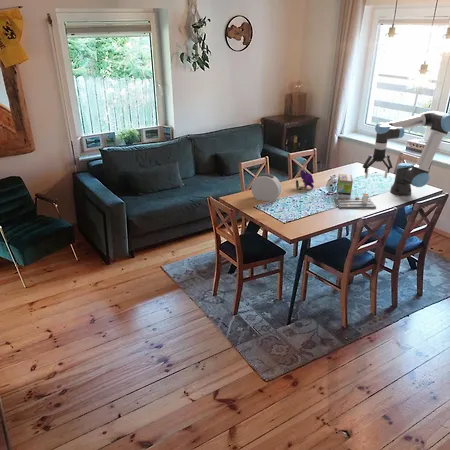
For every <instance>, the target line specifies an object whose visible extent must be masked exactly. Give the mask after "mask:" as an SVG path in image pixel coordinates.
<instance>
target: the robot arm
mask: <svg viewBox="0 0 450 450" xmlns="http://www.w3.org/2000/svg"><path fill="white" fill-rule="evenodd" d="M374 127H375V128H374V130H375V132H376V135H375V144H374V149H373V155H372V154H369V155H368V157H367V159H366V161H365V162H364V163H363V164H362V168H363V169H364V174H365V175H364V177H365V179H368V175H369V168H370V167H371V166H372V165H373V164H374V163H375V162H377V163H378V162H382V163H383V164H384V166H385V171H384V176H383V177H384V178H385V179H387V178H388V174H389V173H390V170H391V169H393V164H392V162H391V158H390V157H391V156H390V155H389V154H386V152H387V151H386V150H387V146H388V145H387V144H388V141H389V140H394V139H395V140H397V139H398V140H399V139H401V138H403V137H404V136H405V130H407V129H413V128H415V127H421V128H422V127H423V128H424V127H429V128H430V129H429V130H430V135H429V136H428V139H427V140H426V142H425V145H424V147H423V149H422V151H421V154H420V156H419V157H418V160H417V161H416V164H414V163H409V162H404V163H403V162H402V163H400V162H399V163H398V164H397V166H396V170H395V175H394V176H395V177H394V181H393V184H392V185H391V187H390V190H389V191H390V193H391V194H392V195H393V194H394V195H396V196H403V197H405V196H410V195H411V194H412V187H416V188H423V187H425V186H426V185H427V184H428V182H429V181H430V174H429V173H430V169H429V168H430V166H431V164H432V161H433V159H434V157H435V155H436V153H437V151H438V148H439V147H440V144H441V143H442V142H443V141H442V140H443V138H444V137H445V136H447V135H448V133H450V113H448V112H447V113H446V112H443V111H440V110H439V111H438V110H430V111H429V110H428V111H426V112H425V111H424V112H421V113H418V114H417V115H413V116H410V117H405V118H401V119H398V120H392V121H390V122H389V121H388V122H378V123H376V125H375V126H374ZM385 159H386V160H385ZM386 161H387V162H386Z"/></svg>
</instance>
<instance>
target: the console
mask: <svg viewBox="0 0 450 450" xmlns="http://www.w3.org/2000/svg"><path fill="white" fill-rule="evenodd" d="M362 199H363V196H362V198H360V197H359V196H355V198H350V199H340V198H334V203H335V204H336V206H337V205H338V206H337V207H338V209H340V210H341V209H343V210H346V209H347V210H349V209H351V210H353V209H357V210H358V209H359V210H360V209H363V210H365V209H367V210H368V209H370V210H371V209H377V206H376V205H375V203H374V202H373V201H372V199H371V198H368V202H367V203H363V202H362Z"/></svg>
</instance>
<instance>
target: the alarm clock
mask: <svg viewBox="0 0 450 450" xmlns="http://www.w3.org/2000/svg"><path fill="white" fill-rule="evenodd" d="M282 189H283V188H282V184H281V182H280V180H279V179H278V178H277V177H276V176H275V175H273V174H271V173H261V174H260V175H259V176H258V177H256V178H255V180H254V181H253V183H252V184H251V193H252V196H253V197H254V199H255V200H257V201H264V202H269V203H273V202H274V203H275V201H276V200H277V199H278V198H279V197H280V195H281V193H282Z"/></svg>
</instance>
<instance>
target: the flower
mask: <svg viewBox="0 0 450 450" xmlns="http://www.w3.org/2000/svg"><path fill="white" fill-rule="evenodd" d="M300 178H301V180H302V183H303V184H302V186H304V187H308V186H309V187H310V188H311V190H313V188H315V186H314V183H315V181H314V178H313V175H312V174H311V173H306V172H305V171H304V170H303V169H301V170H300ZM295 187H296V190H297V191H301V190H303V188H302V187H299V180H298V179H296V180H295Z"/></svg>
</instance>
